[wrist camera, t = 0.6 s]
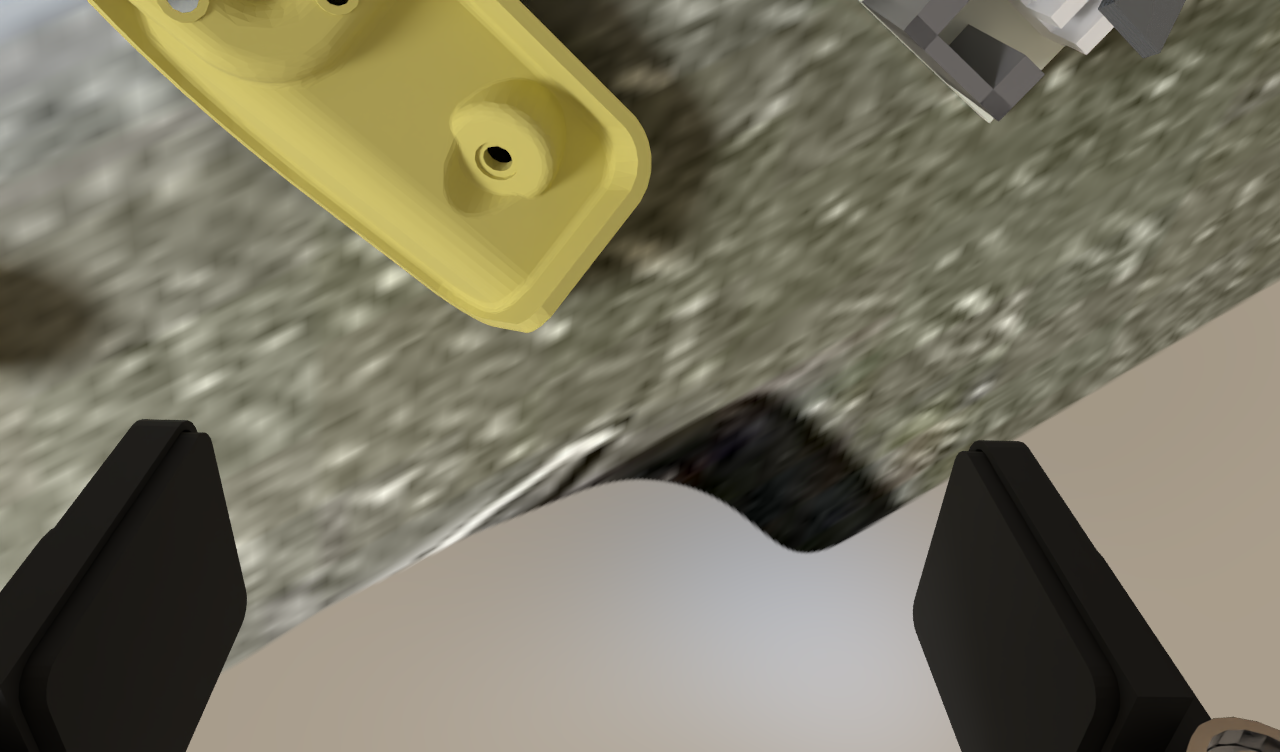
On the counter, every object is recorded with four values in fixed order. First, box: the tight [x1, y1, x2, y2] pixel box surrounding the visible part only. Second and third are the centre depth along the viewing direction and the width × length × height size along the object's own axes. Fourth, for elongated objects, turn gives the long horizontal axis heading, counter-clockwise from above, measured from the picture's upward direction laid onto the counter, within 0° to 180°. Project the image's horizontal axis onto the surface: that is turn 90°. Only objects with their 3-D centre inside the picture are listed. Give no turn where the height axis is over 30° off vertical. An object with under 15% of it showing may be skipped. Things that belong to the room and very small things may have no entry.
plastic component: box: [87, 0, 651, 333], centre depth 35 cm, size 20×7×10 cm
